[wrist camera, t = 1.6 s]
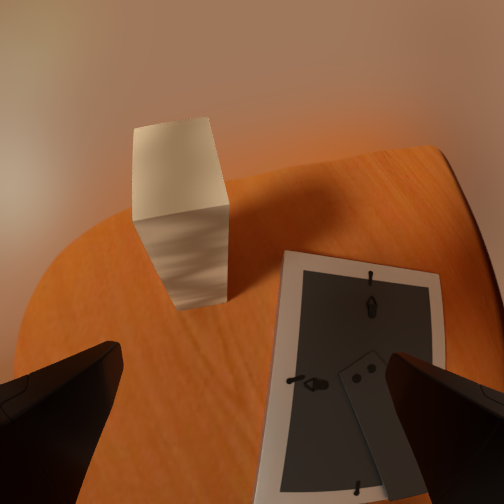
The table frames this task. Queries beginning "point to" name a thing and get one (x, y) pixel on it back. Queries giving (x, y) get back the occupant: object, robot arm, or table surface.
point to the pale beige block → (182, 210)
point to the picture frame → (343, 381)
